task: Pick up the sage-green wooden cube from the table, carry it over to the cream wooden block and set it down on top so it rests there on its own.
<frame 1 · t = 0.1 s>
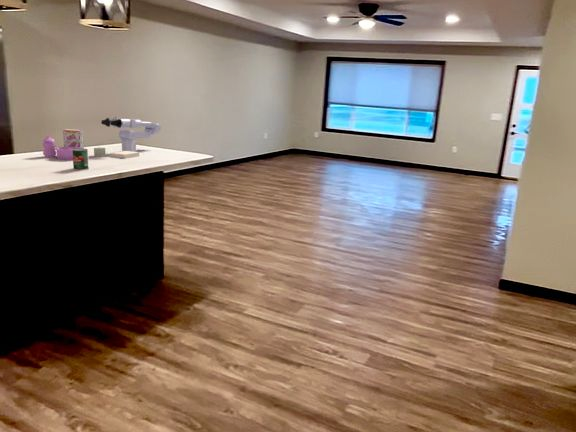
hand: (106, 122, 324), 22 cm above the table, tool horizontal, fingers open, 7 cm apart
candy bar box: (74, 155, 324), on the table
cream block: (125, 157, 331), on the table
sage cube: (99, 155, 329), on the table
canned tomato: (81, 169, 280), on the table
container set: (63, 158, 312), on the table
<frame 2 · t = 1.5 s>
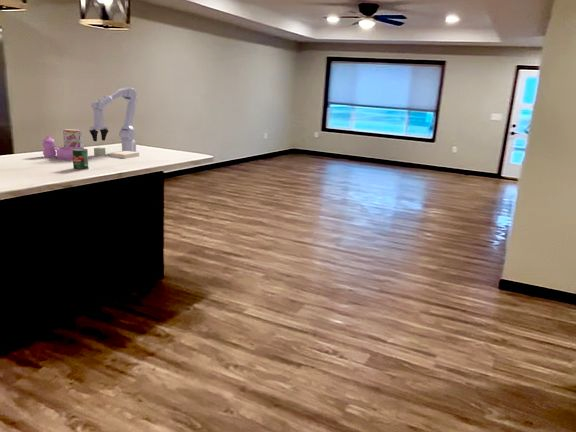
hand: (99, 140, 326), 10 cm above the table, tool pointing down, fingers open, 7 cm apart
nothing on the table moved.
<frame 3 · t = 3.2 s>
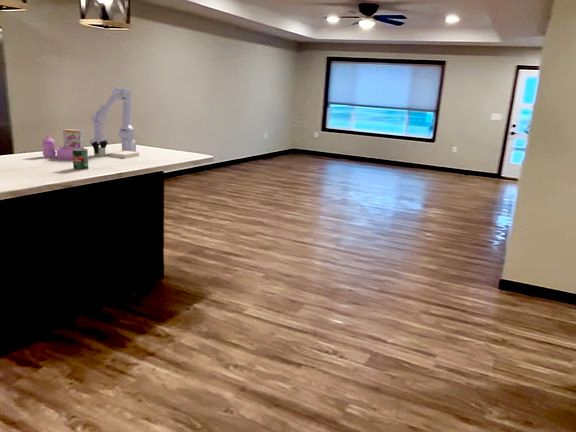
hand: (99, 152, 328), 2 cm above the table, tool pointing down, fingers closed on sage cube, 5 cm apart
sage cube: (99, 155, 329), on the table, touching gripper
everything else where it was.
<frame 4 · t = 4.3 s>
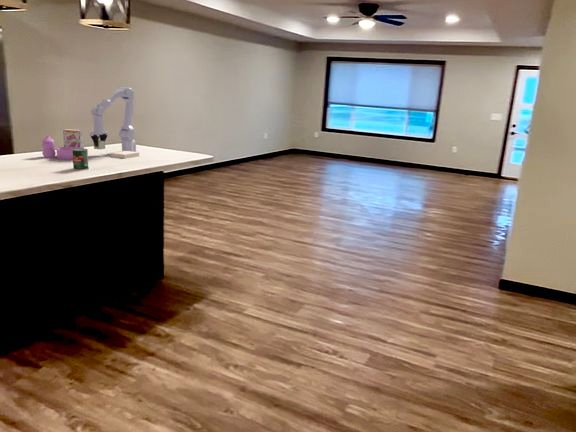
hand: (99, 146, 327), 6 cm above the table, tool pointing down, fingers closed on sage cube, 5 cm apart
sage cube: (99, 148, 328), point 4 cm above the table, touching gripper
everything else where it was.
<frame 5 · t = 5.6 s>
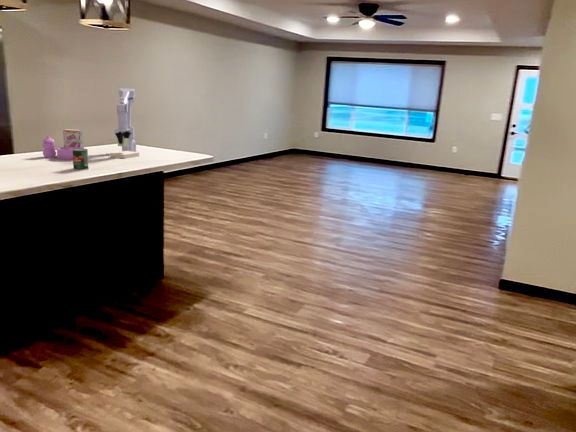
hand: (123, 143, 328), 9 cm above the table, tool pointing down, fingers closed on sage cube, 5 cm apart
sage cube: (123, 145, 329), point 7 cm above the table, touching gripper
everything else where it was.
when the fingers open (6 cm above the table, at t = 6.6 s): sage cube stays where it is, point 4 cm above the table.
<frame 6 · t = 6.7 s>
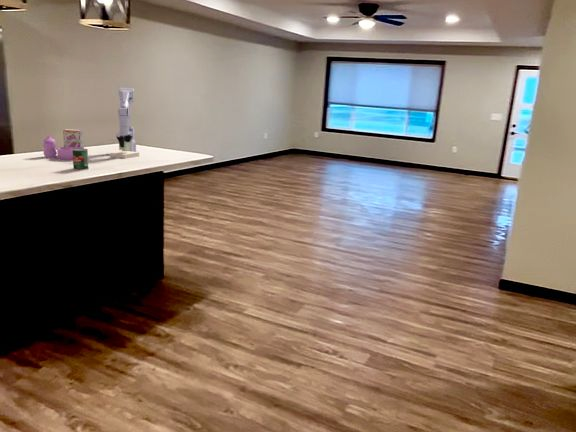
hand: (124, 147, 329), 6 cm above the table, tool pointing down, fingers open, 5 cm apart
sage cube: (124, 149, 330), point 4 cm above the table
everything else where it was.
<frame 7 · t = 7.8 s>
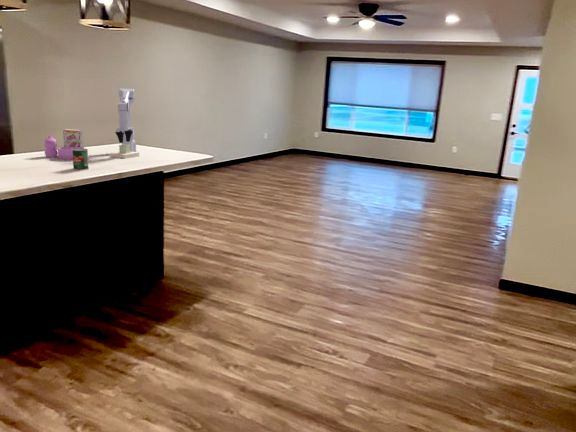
hand: (124, 142, 328), 9 cm above the table, tool pointing down, fingers open, 7 cm apart
sage cube: (125, 152, 330), point 2 cm above the table
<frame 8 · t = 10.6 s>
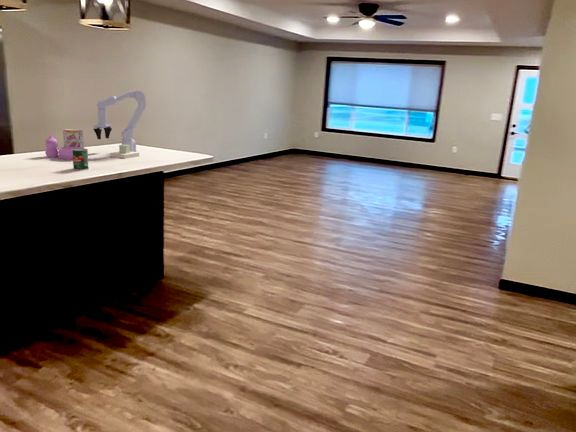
hand: (103, 138, 339), 9 cm above the table, tool pointing down, fingers open, 7 cm apart
at the end: sage cube inside the target area on the cream block (0.2 cm from its centre), point 3.1 cm above the cream block's base; sage cube tilted 0°; the gripper is holding nothing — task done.
